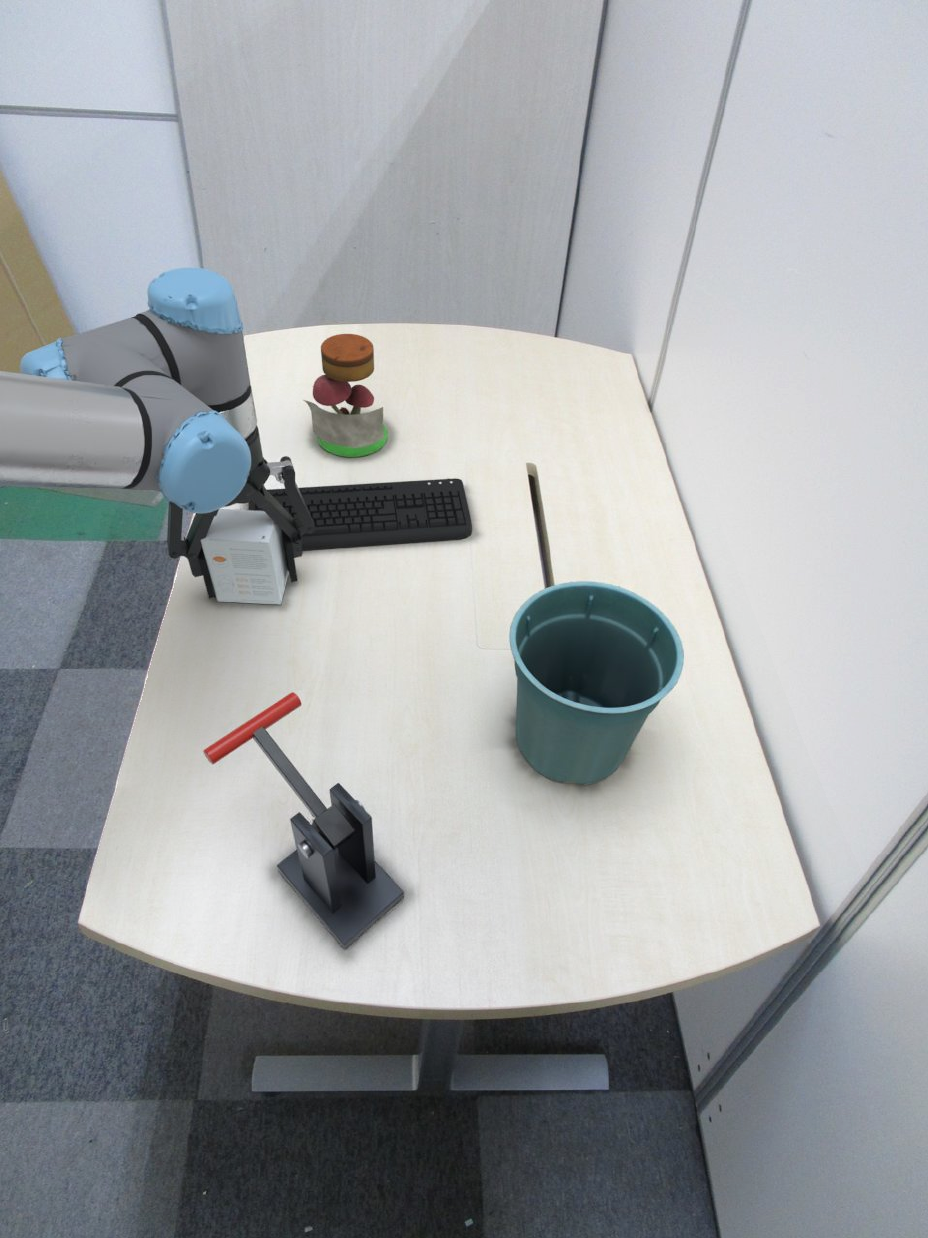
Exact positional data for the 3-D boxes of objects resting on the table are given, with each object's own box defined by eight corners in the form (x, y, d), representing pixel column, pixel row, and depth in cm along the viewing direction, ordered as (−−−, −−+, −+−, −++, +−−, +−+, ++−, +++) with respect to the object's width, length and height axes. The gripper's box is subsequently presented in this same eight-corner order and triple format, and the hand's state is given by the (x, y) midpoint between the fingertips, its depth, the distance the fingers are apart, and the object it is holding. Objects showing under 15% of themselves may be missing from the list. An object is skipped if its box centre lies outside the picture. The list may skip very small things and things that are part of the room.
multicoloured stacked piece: (307, 415, 123) (298, 325, 112) (388, 414, 125) (386, 325, 114) (306, 461, 115) (296, 369, 104) (392, 459, 117) (391, 368, 106)
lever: (203, 755, 66) (202, 746, 64) (291, 697, 71) (293, 687, 69) (296, 880, 64) (299, 874, 62) (381, 812, 68) (387, 804, 66)
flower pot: (484, 682, 90) (496, 583, 78) (622, 672, 92) (654, 574, 80) (509, 811, 79) (527, 720, 67) (664, 797, 81) (709, 705, 69)
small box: (289, 574, 100) (279, 510, 92) (281, 606, 96) (270, 542, 88) (226, 570, 100) (211, 506, 92) (215, 602, 96) (198, 538, 88)
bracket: (277, 870, 74) (258, 803, 64) (337, 824, 77) (327, 754, 68) (344, 950, 69) (334, 890, 60) (404, 897, 73) (404, 833, 63)
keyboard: (249, 554, 102) (247, 543, 100) (250, 500, 109) (248, 489, 107) (473, 538, 106) (474, 527, 105) (460, 487, 113) (461, 476, 112)
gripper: (318, 394, 86) (332, 545, 102) (105, 423, 80) (157, 579, 97) (334, 433, 81) (346, 585, 98) (108, 467, 75) (162, 622, 92)
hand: (252, 582), depth 97 cm, fingers closed on small box, 9 cm apart
